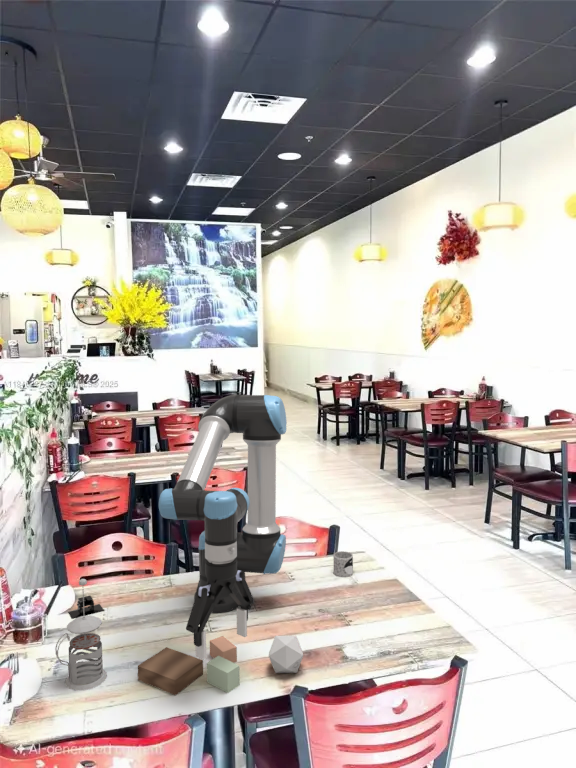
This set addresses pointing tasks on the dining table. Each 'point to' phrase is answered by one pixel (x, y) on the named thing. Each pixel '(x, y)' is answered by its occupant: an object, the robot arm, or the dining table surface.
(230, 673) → the sage brick
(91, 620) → the french press
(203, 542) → the robot arm
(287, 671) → the die
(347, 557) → the mug
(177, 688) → the walnut slab
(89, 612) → the black angular piece
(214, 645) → the terracotta brick
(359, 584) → the dining table surface
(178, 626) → the dining table surface
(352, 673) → the dining table surface
